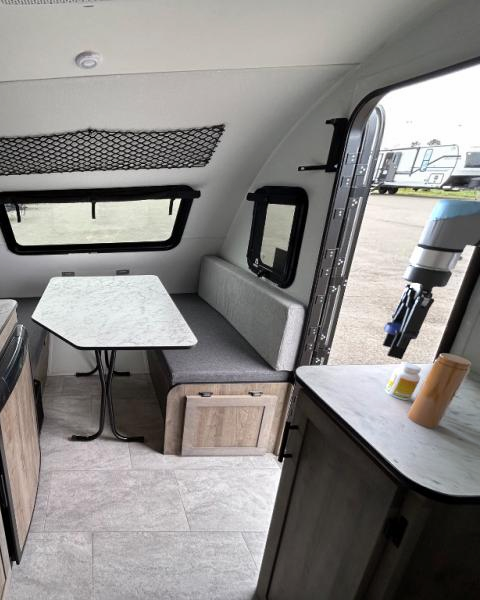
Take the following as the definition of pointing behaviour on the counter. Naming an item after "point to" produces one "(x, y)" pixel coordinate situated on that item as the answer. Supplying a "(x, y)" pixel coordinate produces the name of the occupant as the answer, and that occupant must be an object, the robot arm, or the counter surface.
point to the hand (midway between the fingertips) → (391, 351)
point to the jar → (439, 390)
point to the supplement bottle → (404, 381)
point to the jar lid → (394, 328)
